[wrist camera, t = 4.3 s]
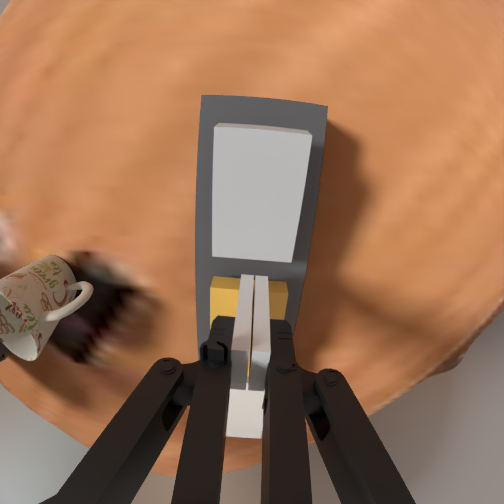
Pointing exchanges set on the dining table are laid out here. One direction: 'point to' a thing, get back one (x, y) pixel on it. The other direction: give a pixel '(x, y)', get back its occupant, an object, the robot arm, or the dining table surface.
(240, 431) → the block
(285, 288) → the block
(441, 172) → the dining table surface
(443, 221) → the dining table surface
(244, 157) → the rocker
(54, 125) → the dining table surface
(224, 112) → the power strip
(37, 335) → the mug
